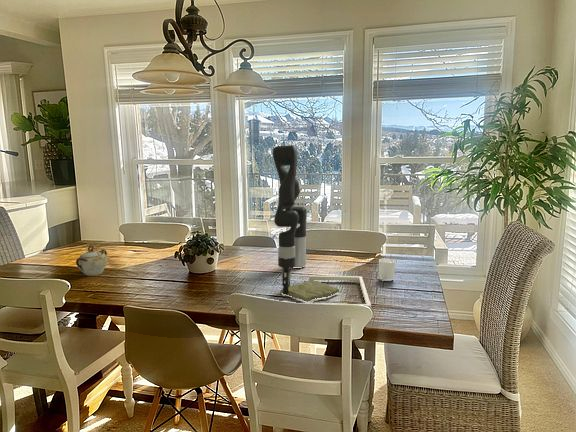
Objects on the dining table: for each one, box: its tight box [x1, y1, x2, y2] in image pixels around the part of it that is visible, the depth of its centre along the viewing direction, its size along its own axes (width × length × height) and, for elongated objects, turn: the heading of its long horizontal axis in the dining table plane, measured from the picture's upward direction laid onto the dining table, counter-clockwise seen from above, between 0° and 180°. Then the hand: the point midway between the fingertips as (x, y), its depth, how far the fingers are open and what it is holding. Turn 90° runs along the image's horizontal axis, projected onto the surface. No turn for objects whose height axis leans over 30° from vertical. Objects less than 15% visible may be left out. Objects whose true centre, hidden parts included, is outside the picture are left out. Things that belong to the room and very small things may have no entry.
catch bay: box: [308, 274, 372, 309], centre depth 183 cm, size 37×26×3 cm
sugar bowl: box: [75, 245, 109, 277], centre depth 215 cm, size 20×15×15 cm
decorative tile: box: [280, 279, 340, 302], centre depth 184 cm, size 19×20×4 cm
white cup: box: [378, 257, 396, 280], centre depth 203 cm, size 8×8×10 cm
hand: (286, 290), depth 184 cm, fingers open, 8 cm apart
